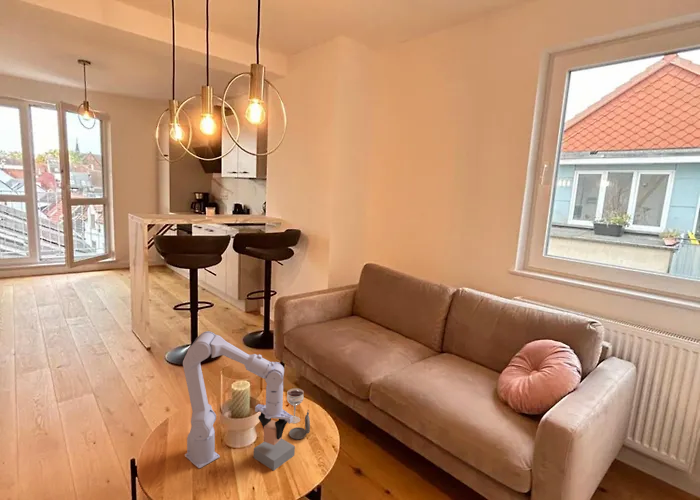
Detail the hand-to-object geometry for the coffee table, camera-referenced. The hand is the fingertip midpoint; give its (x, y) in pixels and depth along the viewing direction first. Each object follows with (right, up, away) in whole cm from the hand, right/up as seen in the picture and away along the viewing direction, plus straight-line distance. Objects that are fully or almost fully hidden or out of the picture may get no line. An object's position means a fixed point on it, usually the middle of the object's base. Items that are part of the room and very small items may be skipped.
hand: (273, 435), depth 137 cm
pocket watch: (+8, -7, +15) cm, 18 cm away
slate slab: (0, -9, +2) cm, 9 cm away
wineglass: (+4, -5, +24) cm, 25 cm away
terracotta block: (0, -2, 0) cm, 2 cm away
